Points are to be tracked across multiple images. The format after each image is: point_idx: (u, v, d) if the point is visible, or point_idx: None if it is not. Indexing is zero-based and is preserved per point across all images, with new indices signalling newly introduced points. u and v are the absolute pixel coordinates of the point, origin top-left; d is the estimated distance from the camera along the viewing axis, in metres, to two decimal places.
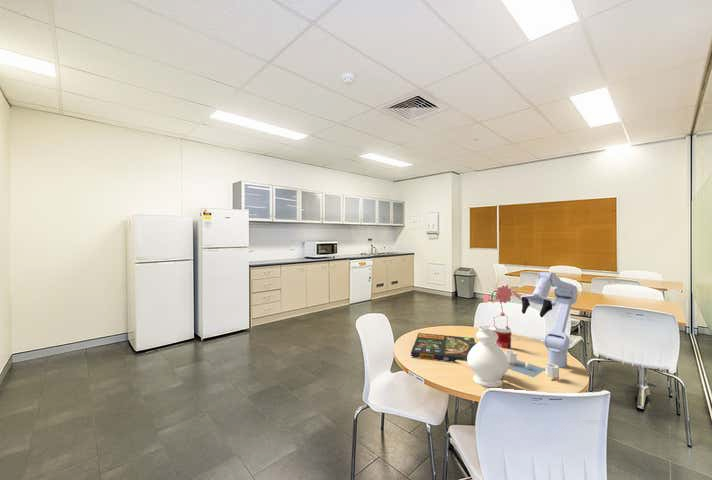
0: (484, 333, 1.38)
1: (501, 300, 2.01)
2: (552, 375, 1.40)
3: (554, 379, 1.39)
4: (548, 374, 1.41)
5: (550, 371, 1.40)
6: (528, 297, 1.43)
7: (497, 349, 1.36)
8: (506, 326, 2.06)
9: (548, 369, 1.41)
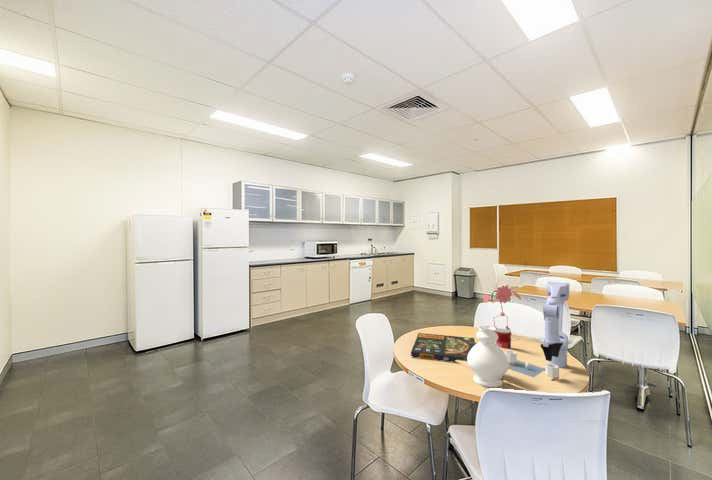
0: (484, 333, 1.38)
1: (501, 300, 2.01)
2: (552, 375, 1.40)
3: (554, 379, 1.39)
4: (548, 374, 1.41)
5: (550, 371, 1.40)
6: None
7: (497, 349, 1.36)
8: (506, 326, 2.06)
9: (548, 369, 1.41)
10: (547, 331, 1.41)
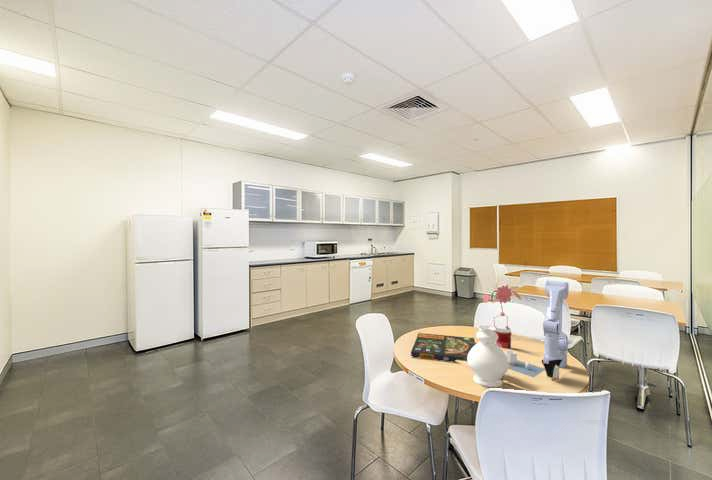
0: (484, 333, 1.38)
1: (501, 300, 2.01)
2: None
3: (554, 379, 1.39)
4: None
5: None
6: None
7: (497, 349, 1.36)
8: (506, 326, 2.06)
9: None
10: (547, 347, 1.41)
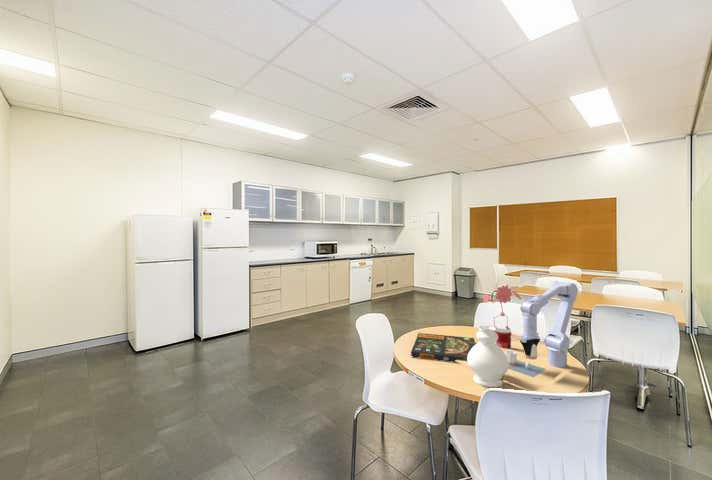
0: (484, 333, 1.38)
1: (501, 300, 2.01)
2: None
3: (532, 358, 1.45)
4: None
5: None
6: None
7: (497, 349, 1.36)
8: (506, 326, 2.06)
9: None
10: (525, 327, 1.47)
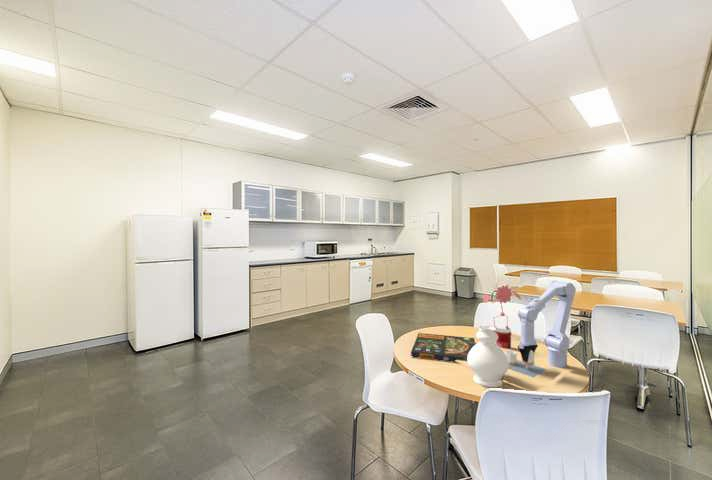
0: (484, 333, 1.38)
1: (501, 300, 2.01)
2: None
3: (529, 364, 1.46)
4: None
5: None
6: None
7: (497, 349, 1.36)
8: (506, 326, 2.06)
9: None
10: (523, 334, 1.48)
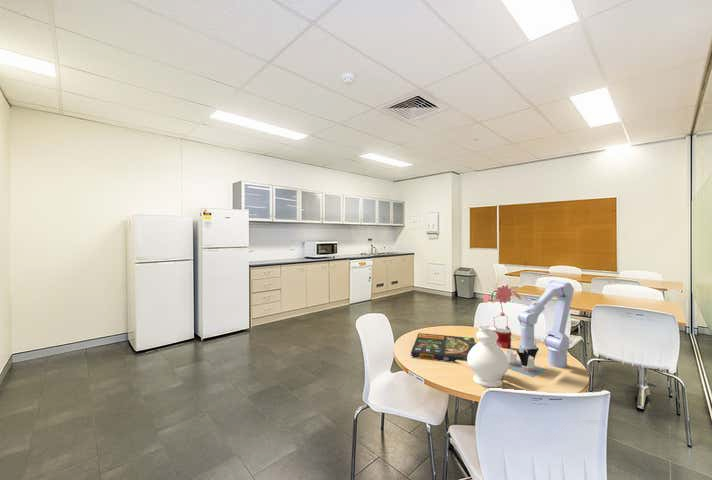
0: (484, 333, 1.38)
1: (501, 300, 2.01)
2: (527, 366, 1.46)
3: (529, 370, 1.46)
4: None
5: None
6: None
7: (497, 349, 1.36)
8: (506, 326, 2.06)
9: None
10: (523, 337, 1.48)
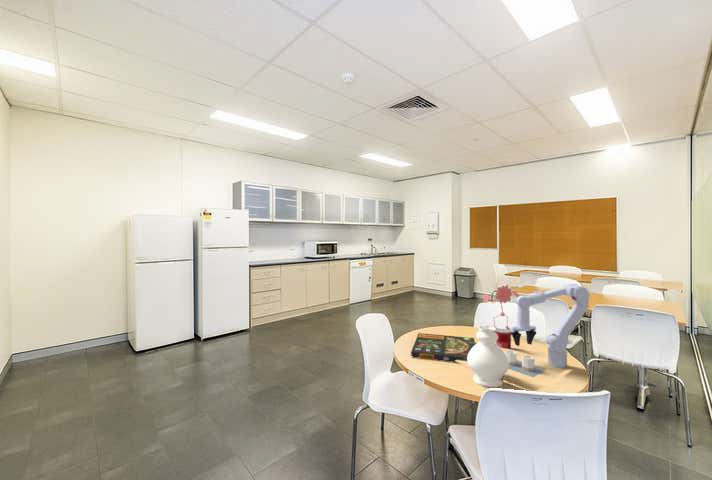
0: (484, 333, 1.38)
1: (501, 300, 2.01)
2: (527, 366, 1.46)
3: (529, 370, 1.46)
4: (524, 365, 1.48)
5: (525, 362, 1.47)
6: None
7: (497, 349, 1.36)
8: (506, 326, 2.06)
9: (524, 360, 1.48)
10: (517, 319, 1.58)
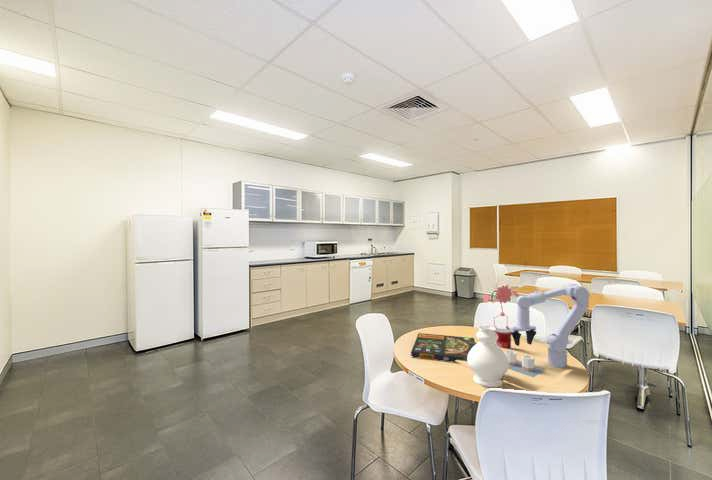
0: (484, 333, 1.38)
1: (501, 300, 2.01)
2: (527, 366, 1.46)
3: (529, 370, 1.46)
4: (524, 365, 1.48)
5: (525, 362, 1.47)
6: None
7: (497, 349, 1.36)
8: (506, 326, 2.06)
9: (524, 360, 1.48)
10: (517, 319, 1.58)
